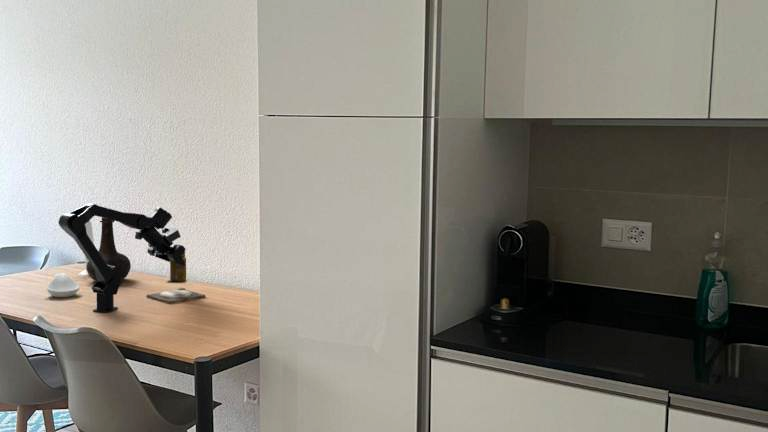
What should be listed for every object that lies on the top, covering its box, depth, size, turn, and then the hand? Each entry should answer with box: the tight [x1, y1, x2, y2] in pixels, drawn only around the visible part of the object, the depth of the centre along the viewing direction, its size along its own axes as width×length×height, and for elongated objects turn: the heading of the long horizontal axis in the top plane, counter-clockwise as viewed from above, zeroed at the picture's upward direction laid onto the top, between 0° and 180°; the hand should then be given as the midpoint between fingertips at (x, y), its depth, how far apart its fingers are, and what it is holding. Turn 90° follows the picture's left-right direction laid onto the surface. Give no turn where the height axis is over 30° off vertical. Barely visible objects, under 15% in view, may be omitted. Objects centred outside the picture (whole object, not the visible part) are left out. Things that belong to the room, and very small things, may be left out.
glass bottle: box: [87, 217, 132, 283], centre depth 321 cm, size 18×18×28 cm
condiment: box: [165, 250, 190, 284], centre depth 292 cm, size 7×8×12 cm
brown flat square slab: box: [146, 287, 206, 305], centre depth 294 cm, size 16×16×2 cm
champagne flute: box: [78, 219, 95, 276], centre depth 337 cm, size 7×7×24 cm
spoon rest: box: [46, 272, 81, 298], centre depth 299 cm, size 24×12×7 cm, turn 29°
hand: (179, 263), depth 293 cm, fingers closed on condiment, 6 cm apart
